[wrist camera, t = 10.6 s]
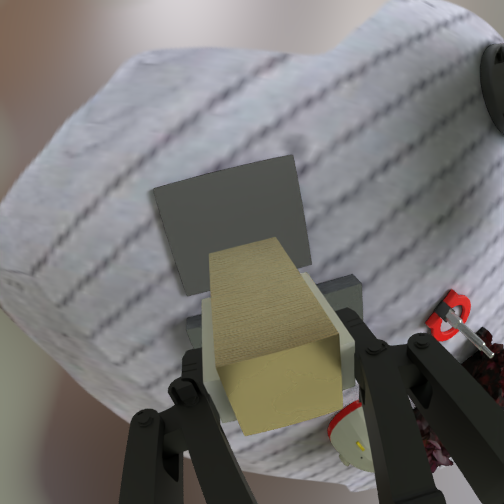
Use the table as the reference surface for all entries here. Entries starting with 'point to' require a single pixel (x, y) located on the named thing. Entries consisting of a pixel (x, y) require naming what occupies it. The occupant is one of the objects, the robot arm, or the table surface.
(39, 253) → the table surface
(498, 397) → the flower arrangement
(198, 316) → the socket plate
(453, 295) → the tow hook
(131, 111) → the table surface
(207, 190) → the rubber mat
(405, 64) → the table surface
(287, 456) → the table surface
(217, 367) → the brass plug
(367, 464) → the kitchen timer
